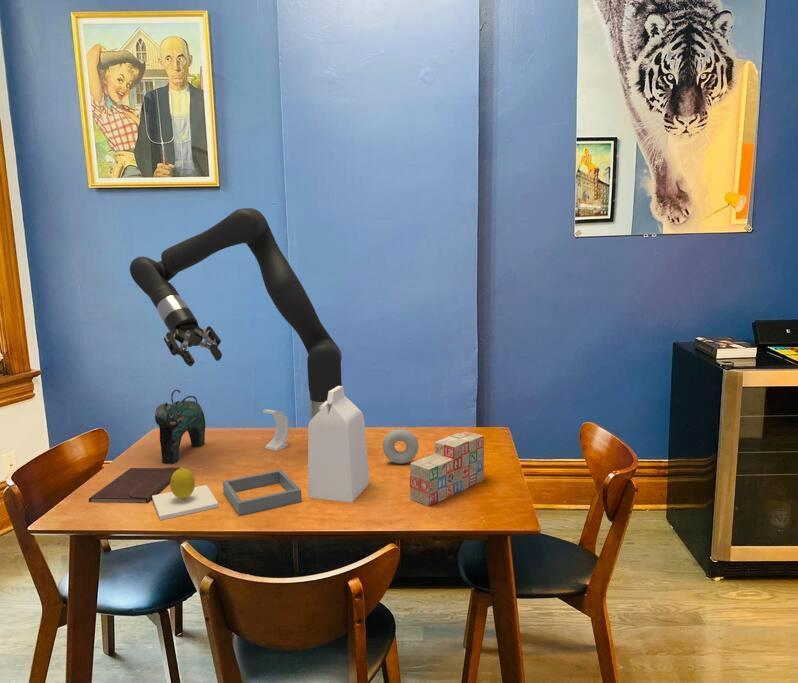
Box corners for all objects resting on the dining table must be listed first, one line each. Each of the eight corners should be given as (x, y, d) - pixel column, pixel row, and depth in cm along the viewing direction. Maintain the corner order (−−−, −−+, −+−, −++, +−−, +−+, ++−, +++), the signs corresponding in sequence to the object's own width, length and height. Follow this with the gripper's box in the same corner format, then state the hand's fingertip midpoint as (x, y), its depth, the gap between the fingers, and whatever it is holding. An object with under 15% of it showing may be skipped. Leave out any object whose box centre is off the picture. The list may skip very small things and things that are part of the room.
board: (206, 488, 155) (206, 484, 155) (218, 507, 144) (218, 503, 144) (152, 499, 149) (151, 495, 149) (160, 520, 138) (159, 516, 138)
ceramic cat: (172, 466, 171) (167, 397, 168) (152, 464, 172) (146, 396, 169) (210, 443, 190) (206, 380, 187) (192, 442, 192) (187, 380, 188)
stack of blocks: (429, 507, 142) (428, 456, 140) (409, 499, 147) (408, 450, 145) (484, 480, 157) (484, 434, 155) (464, 474, 162) (464, 429, 160)
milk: (352, 502, 145) (348, 396, 141) (308, 497, 149) (303, 393, 144) (369, 483, 157) (366, 384, 152) (327, 479, 160) (324, 382, 156)
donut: (382, 465, 169) (381, 430, 167) (383, 461, 172) (382, 427, 170) (418, 465, 168) (418, 430, 167) (418, 461, 172) (418, 427, 170)
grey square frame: (281, 480, 159) (281, 469, 159) (301, 501, 146) (301, 489, 146) (223, 492, 152) (222, 481, 152) (239, 515, 139) (238, 503, 139)
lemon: (188, 505, 143) (185, 472, 142) (166, 503, 144) (164, 471, 143) (200, 495, 148) (198, 464, 147) (179, 494, 150) (177, 462, 148)
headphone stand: (265, 448, 184) (262, 410, 182) (278, 442, 190) (276, 405, 188) (276, 451, 182) (274, 411, 180) (290, 445, 187) (288, 407, 185)
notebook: (88, 504, 148) (87, 496, 148) (130, 473, 168) (129, 466, 167) (148, 505, 147) (147, 497, 147) (183, 474, 167) (182, 467, 166)
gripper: (158, 309, 158) (188, 357, 153) (204, 304, 169) (234, 348, 165) (148, 328, 162) (177, 375, 157) (194, 321, 173) (222, 365, 169)
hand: (206, 361), depth 161 cm, fingers open, 8 cm apart
